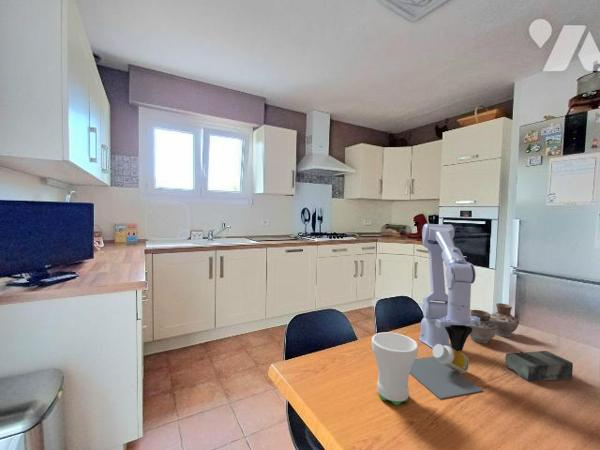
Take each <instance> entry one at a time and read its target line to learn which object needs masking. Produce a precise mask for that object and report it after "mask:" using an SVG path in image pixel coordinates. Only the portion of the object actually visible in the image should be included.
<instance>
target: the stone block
mask: <svg viewBox="0 0 600 450" xmlns="http://www.w3.org/2000/svg"><path fill="white" fill-rule="evenodd" d="M504 359H505V365H506V368H508V369H509V370H510V371H512V372H513V373H515V374H516V375H518V377H520V378H521V379H523V380H524V381H527V382H544V381H551V380H552V381H563V380H568V381H569V380H570V381H571V380H572V379H573V372H574V370H573V369H574V366H573V365H574V363H573V362H572V361H570V360H568V359H566V358H564V357H562V356H559V355H557V354H554V353H552V352H551V351H547V350H538V351H528V352H527V351H525V352H523V351H520V352H508V353H506V354H505V357H504Z"/></svg>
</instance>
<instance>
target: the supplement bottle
mask: <svg viewBox="0 0 600 450" xmlns="http://www.w3.org/2000/svg"><path fill="white" fill-rule="evenodd" d="M432 355H433V357H435V358H436V359H438V360H439V362H440V363H442V364H444V365H445V366H447V367H449V368H451V369H453V370H454V371H456V372H457V373H459V374H463V373H466V372H468V371H469V368H470V361H469V357H468V356H466V355H465V354H463V353H461V351H456V350H454V349H453V348H451V347H449V346H443V345H441V344H437V345H435V346H434V348H432Z"/></svg>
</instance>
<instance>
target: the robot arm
mask: <svg viewBox="0 0 600 450" xmlns="http://www.w3.org/2000/svg"><path fill="white" fill-rule="evenodd" d="M421 231H422V232H421V235H422V236H421V237H422V245H423V247H424V248H426V249H427V252H428V262H429V263H428V264H429V265H428V266H429V267H428V268H429V279H430V280H429V282H430V293H428V294H427V295H425V296H424V297H423V303H422V314H423V318H422V319H421V321H420V334H419V335H420V336H419V337H418V340H419V342H421V343H424V344H425V345H426V346H428V347H430V348H431V349H433V348H434V346H435V345H437V344H441V345H443V346H449V347H451V348H453V349H454V350H456V351H458V352H461V351H462V352H463V349H464V348H465V347H464V346H465V344H466V342H467V339H468V337H469V336H470V335H469V334H470V333H471V332H472V328H471V327H469V326H472V324H477V325H479V324H480V318H479V317H476V316H471V296H472V295H471V293H472V291H471V290H472V285H473V284H474V282H475V281H476V276H477V275H476V269H475V266H474V264H473V263H471V262H469V261H467V260H466V259H465V257H464V254H463V253H462V251H461V249H460V248H458V247H457V246H455V243H454V240H453V239H454V238H455V227H454V226H453V224H449V223H448V224H444V223H443V224H441V223H440V224H439V223H438V224H435V223H425V224H424V225H423V226H422V230H421ZM444 266H445V267H446V268H445V270H444ZM444 271H445V272H444ZM445 277H446V281H445ZM445 283H446V284H445ZM446 287H447V289H448V292H447V293H446Z"/></svg>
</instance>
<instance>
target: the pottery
mask: <svg viewBox="0 0 600 450" xmlns="http://www.w3.org/2000/svg"><path fill="white" fill-rule="evenodd" d="M495 306H496V310H497V312H495V313H489V312H488V311H485V310H480V309H473V310H470V316H476V317H479V318H480V324H479V325H477V324H472V326H469V327H471V328H472V332H471V333H470V334H469V336H470V337H469V338H470V340H471V341H473V342H475V343H479V344H488V343H489V340H492V339H493V338H494V337H495V336H499V337H503V338H511V337H512V333H514V332H515V331H516V330H517V328H518V327H519V324H520V321H519V320H518V319H517V317H515V316H514V315H512V314H511V312H512V310H513V309H512V308H513V306H512V305H510V304H509V303H508V304H507V303H501V302H498V303H496V304H495Z"/></svg>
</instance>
